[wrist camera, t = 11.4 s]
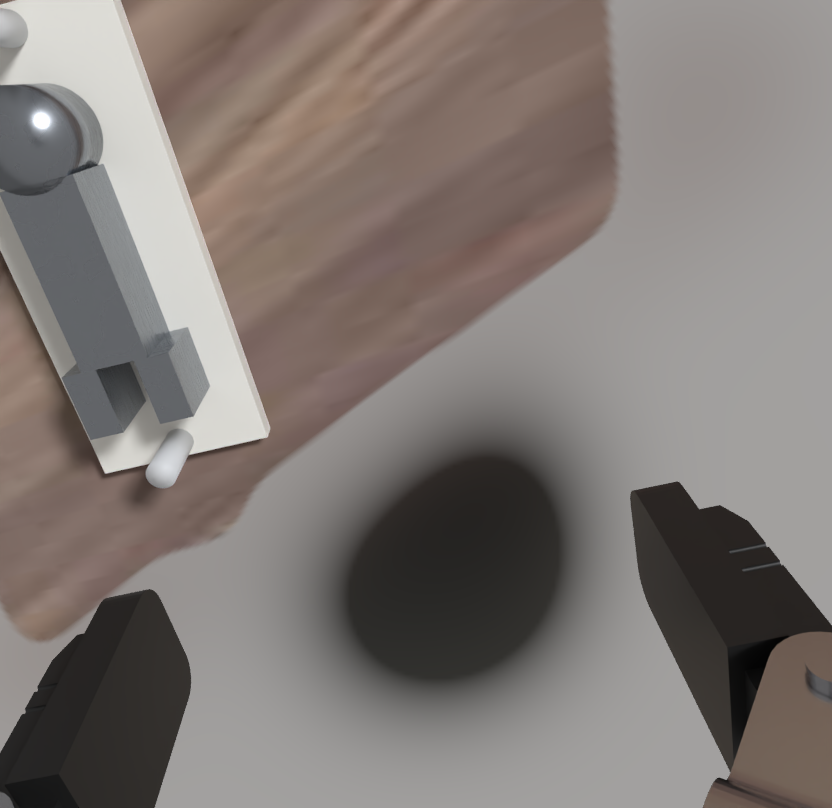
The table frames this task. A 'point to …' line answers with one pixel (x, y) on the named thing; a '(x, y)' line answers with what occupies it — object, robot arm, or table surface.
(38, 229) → the ball-topped forked rod
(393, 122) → the table surface
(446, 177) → the table surface
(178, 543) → the table surface
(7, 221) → the peg rest
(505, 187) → the table surface
